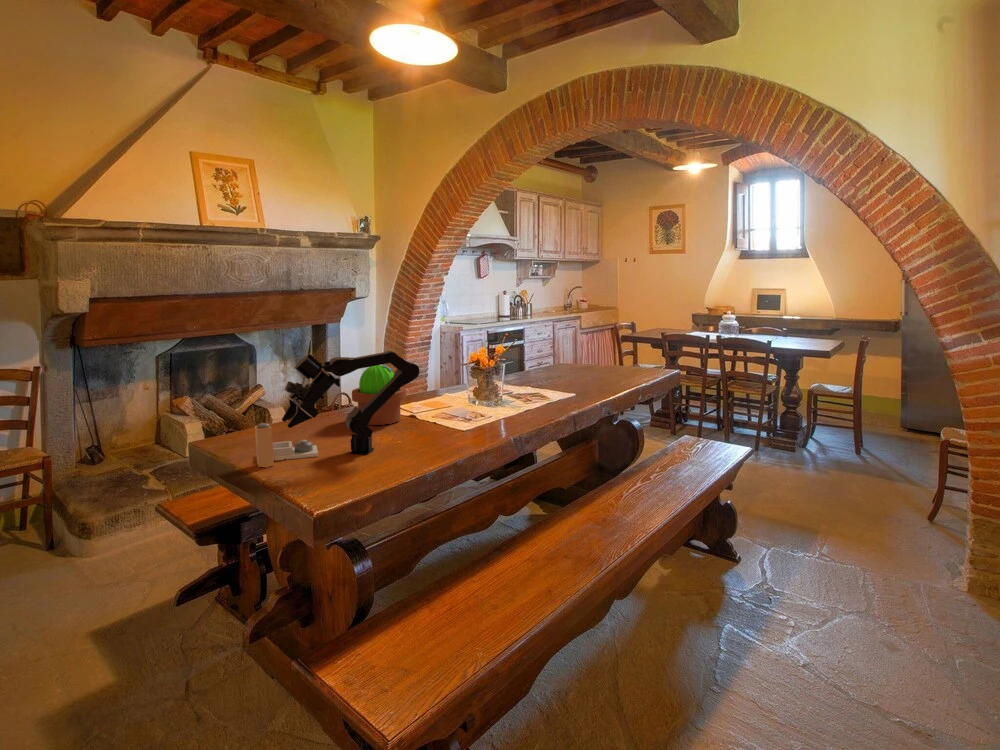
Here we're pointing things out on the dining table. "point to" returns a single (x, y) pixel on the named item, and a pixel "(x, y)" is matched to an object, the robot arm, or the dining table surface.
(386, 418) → the potted cactus
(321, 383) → the robot arm
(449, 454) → the dining table surface
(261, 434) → the block
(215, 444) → the dining table surface
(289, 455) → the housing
